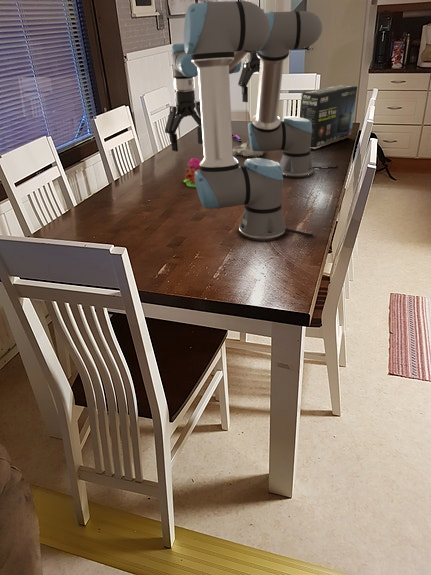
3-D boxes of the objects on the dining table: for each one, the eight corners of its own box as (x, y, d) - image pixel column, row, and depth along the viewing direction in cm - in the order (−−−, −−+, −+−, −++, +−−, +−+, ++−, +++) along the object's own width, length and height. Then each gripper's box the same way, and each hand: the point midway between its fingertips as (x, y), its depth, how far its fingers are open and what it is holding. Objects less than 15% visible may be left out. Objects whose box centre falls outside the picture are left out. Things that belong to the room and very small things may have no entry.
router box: (314, 151, 231) (318, 94, 217) (296, 148, 237) (299, 92, 224) (352, 138, 251) (358, 85, 238) (335, 135, 258) (340, 83, 245)
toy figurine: (177, 183, 196) (175, 157, 190) (193, 178, 201) (192, 153, 196) (195, 189, 189) (194, 162, 183) (211, 183, 194) (210, 158, 188)
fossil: (259, 152, 219) (238, 132, 222) (247, 170, 225) (226, 150, 228) (276, 150, 232) (255, 131, 235) (264, 167, 239) (244, 148, 242)
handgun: (221, 135, 268) (221, 132, 267) (234, 134, 269) (234, 130, 268) (228, 143, 251) (228, 140, 250) (242, 142, 252) (242, 138, 251)
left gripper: (164, 95, 162) (169, 155, 174) (215, 86, 176) (217, 142, 188) (151, 93, 167) (157, 152, 178) (202, 84, 181) (205, 139, 192)
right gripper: (242, 51, 196) (242, 104, 207) (280, 47, 210) (278, 96, 221) (229, 51, 201) (230, 102, 212) (268, 47, 215) (267, 95, 226)
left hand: (188, 147), depth 183 cm, fingers open, 13 cm apart
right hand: (255, 99), depth 216 cm, fingers open, 13 cm apart
